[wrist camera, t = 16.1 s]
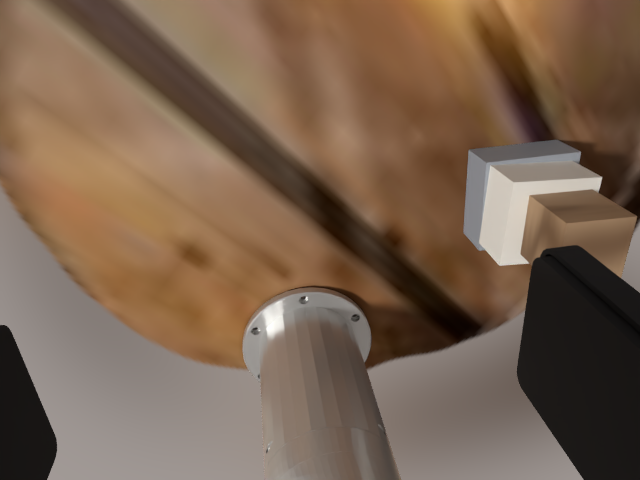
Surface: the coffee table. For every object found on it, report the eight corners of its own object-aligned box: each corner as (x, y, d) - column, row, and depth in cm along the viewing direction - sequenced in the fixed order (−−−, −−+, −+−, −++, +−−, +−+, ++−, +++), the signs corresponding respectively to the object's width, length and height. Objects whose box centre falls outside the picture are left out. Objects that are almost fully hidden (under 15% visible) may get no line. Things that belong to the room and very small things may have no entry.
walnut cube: (579, 247, 41) (620, 280, 37) (520, 253, 41) (554, 287, 36) (592, 189, 39) (637, 216, 34) (529, 195, 38) (566, 223, 34)
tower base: (542, 220, 49) (566, 239, 45) (461, 230, 48) (479, 250, 45) (554, 138, 45) (581, 151, 42) (467, 148, 45) (486, 162, 41)
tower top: (555, 237, 45) (581, 259, 42) (478, 242, 44) (499, 265, 41) (572, 160, 42) (602, 177, 38) (490, 165, 41) (513, 182, 38)
